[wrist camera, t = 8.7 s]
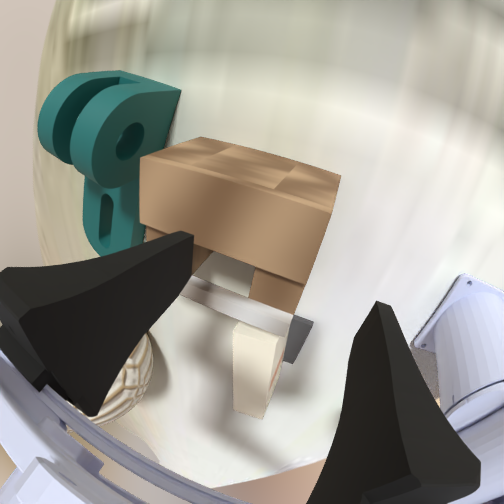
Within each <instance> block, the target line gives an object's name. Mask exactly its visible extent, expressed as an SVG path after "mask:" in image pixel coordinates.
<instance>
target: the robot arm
mask: <svg viewBox="0 0 504 504" xmlns="http://www.w3.org/2000/svg"><path fill="white" fill-rule="evenodd" d="M193 246H194V235H192V234H190V233H187V232H184V231H177V232H173V233H170V234H167V235H165V236H162V237H159V238H156V239H153V240H151V241H148V242H145V243H142V244H139V245H137V246H134V247H131V248H128V249H124V250H121V251H118V252H115V253H112V254H109V255H105V256H102V257H98V258H93V259H89V260H85V261H80V262H74V263H68V264H62V265H53V266H42V267H7V268H5V269H4V270H2V272H0V321H1V323H2V324H3V325H2V326H1V327H0V443H1V445H2V446H3V448H4V449H5V450H6V452H7V453H8V455H9V456H10V457H11V459H12V460H13V462H14V463H15V464H16V466H17V467H16V468H15V470H14V471H13V472H12V474H11V475H10V477H9V478H8V479H7V481H6V482H5V483H4V485H3V486H2V488H1V489H0V504H149V503H147V502H145V501H143V500H141V499H140V498H138V497H136V496H134V495H132V494H131V493H129V492H127V491H126V490H124V489H122V488H121V487H119V486H118V485H116V484H114V483H113V482H111V481H110V480H108V479H107V478H105V477H104V476H102V475H101V474H99V471H100V469H101V468H102V467H103V465H104V463H103V462H102V461H101V460H100V459H98V458H97V457H96V456H94V455H93V454H92V453H91V452H90V451H88V450H87V449H86V448H85V447H84V446H83V445H81V444H80V443H79V442H78V441H76V440H75V439H74V438H72V436H70V435H69V434H68V433H67V426H68V427H70V428H71V429H72V430H73V431H74V432H76V433H77V434H78V435H79V436H81V437H82V438H83V439H84V440H86V441H87V442H88V443H90V444H91V445H92V446H94V447H95V448H96V449H98V450H99V451H101V452H102V453H103V454H105V455H106V456H108V457H109V458H111V459H112V460H114V461H115V462H117V463H118V464H120V465H122V466H123V467H125V468H126V469H128V470H130V471H131V472H133V473H134V474H136V475H138V476H139V477H141V478H143V479H145V480H146V481H148V482H150V483H152V484H154V485H155V486H157V487H159V488H161V489H163V490H165V491H167V492H169V493H171V494H173V495H175V496H177V497H179V498H181V499H184V500H186V501H188V502H190V503H192V504H251V503H248V502H245V501H242V500H239V499H236V498H233V497H231V496H228V495H225V494H223V493H220V492H217V491H215V490H212V489H210V488H208V487H205V486H203V485H201V484H198V483H196V482H194V481H191V480H189V479H187V478H185V477H183V476H181V475H179V474H177V473H175V472H173V471H171V470H169V469H167V468H165V467H163V466H161V465H159V464H157V463H155V462H154V461H152V460H150V459H148V458H147V457H145V456H143V455H141V454H140V453H138V452H136V451H134V450H133V449H131V448H130V447H128V446H127V445H125V444H124V443H122V442H120V441H119V440H117V439H116V438H114V437H113V436H111V435H110V434H109V433H107V432H106V431H104V430H103V429H101V428H100V427H99V426H97V425H96V424H94V423H93V422H92V421H90V420H89V419H88V418H87V417H85V416H84V415H83V414H81V413H80V412H79V411H78V410H76V409H75V408H74V407H73V406H75V407H76V408H78V409H79V410H80V411H81V412H83V413H84V414H85V415H87V416H88V417H95V416H97V415H98V413H99V411H100V409H101V407H102V405H103V402H104V400H105V398H106V396H107V394H108V392H109V390H110V389H111V387H112V385H113V383H114V381H115V380H116V378H117V376H118V374H119V372H120V371H121V369H122V368H123V366H124V364H125V363H126V361H127V359H128V358H129V356H130V355H131V353H132V352H133V350H134V349H135V347H136V346H137V344H138V343H139V341H140V340H141V339H142V337H143V336H144V335H145V334H146V332H147V331H148V330H149V329H150V328H151V327H152V325H153V324H154V323H155V322H156V321H157V320H158V319H159V317H160V316H161V315H162V314H163V313H164V312H165V311H166V310H167V308H168V307H169V306H170V305H171V304H172V303H173V302H174V300H175V299H176V298H177V297H178V296H179V294H180V293H181V291H182V290H183V289H184V287H185V286H186V284H187V282H188V281H189V279H190V278H191V276H192V261H193ZM468 281H471V282H470V283H468V284H467V282H468ZM414 346H415V347H416V348H419V349H423V350H426V351H429V352H432V353H436V361H437V370H438V381H439V395H440V408H439V406H438V405H437V403H436V401H435V399H434V397H433V396H432V394H431V392H430V390H429V388H428V387H427V385H426V383H425V381H424V379H423V377H422V375H421V373H420V371H419V369H418V367H417V364H416V362H415V360H414V358H413V356H412V354H411V351H410V349H409V347H408V344H407V342H406V340H405V337H404V335H403V333H402V330H401V328H400V325H399V323H398V321H397V318H396V316H395V314H394V311H393V309H392V307H391V306H390V305H387V304H384V303H381V302H379V301H376V302H375V304H374V306H373V307H372V309H371V311H370V312H369V314H368V316H367V317H366V319H365V321H364V322H363V324H362V325H361V327H360V329H359V330H358V332H357V333H356V335H355V337H354V340H353V344H352V348H351V352H350V357H349V361H348V369H347V377H346V384H345V391H344V398H343V405H342V411H341V415H340V420H339V424H338V427H337V430H336V433H335V437H334V440H333V443H332V446H331V448H330V451H329V454H328V457H327V459H326V462H325V464H324V467H323V469H322V472H321V474H320V476H319V479H318V481H317V483H316V485H315V487H314V490H313V491H312V493H311V495H310V497H309V499H308V501H307V503H306V504H504V291H502V290H500V289H498V288H496V287H494V286H492V285H490V284H488V283H486V282H484V281H481V280H479V279H477V278H475V277H473V276H471V275H469V274H466V273H464V274H462V275H460V276H459V278H458V279H457V281H456V282H455V284H454V286H453V287H452V289H451V290H450V292H449V293H448V295H447V296H446V298H445V299H444V301H443V302H442V304H441V305H440V307H439V308H438V310H437V311H436V312H435V314H434V315H433V317H432V318H431V319H430V321H429V322H428V323H427V325H426V326H425V327H424V329H423V330H422V331H421V333H420V334H419V335H418V336H417V338H416V339H415V340H414ZM66 400H67V401H68V402H69V403H70V404H72V405H73V406H71V405H70V404H69V403H68V402H67V401H66ZM66 425H67V426H66Z"/></svg>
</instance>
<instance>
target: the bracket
mask: <svg viewBox="0 0 504 504" xmlns="http://www.w3.org/2000/svg"><path fill="white" fill-rule="evenodd" d="M180 93H181V90H180V89H177V88H175V87H172V86H169V85H166V84H163V83H160V82H157V81H154V80H151V79H147V78H144V77H141V76H138V75H134V74H131V73H127V72H124V71H120V70H118V71H101V72H89V73H80V74H75V75H72V76H70V77H68V78H66V79H64V80H63V81H62V82H60V83H59V84H58V85H57V86H56V87H55V88H54V89H53V90H52V91H51V92H50V94H49V95H48V97H47V98H46V100H45V102H44V104H43V106H42V108H41V111H40V114H39V119H38V137H39V140H40V143H41V145H42V146H43V148H44V149H45V150H46V151H48V152H49V153H51V154H52V155H54V156H55V157H57V158H58V159H60V160H61V161H63V162H64V163H67V164H71V165H74V167H75V168H76V169H77V170H78V171H79V172H80V173H81V174H83V175H85V181H84V197H83V226H84V230H85V233H86V236H87V238H88V240H89V242H90V244H91V246H92V247H93V249H94V250H95V251H96V252H97V253H98V254H99V255H100V256H101V257H102V256H105V255H109V254H112V253H115V252H118V251H121V250H124V249H128V248H131V247H134V246H137V245H139V244H142V243H143V238H144V233H145V227H146V225H145V224H142V223H140V196H139V192H140V157H143V156H146V155H148V154H151V153H154V152H157V151H159V150H162V149H164V145H165V142H166V138H167V135H168V131H169V128H170V125H171V121H172V118H173V115H174V112H175V108H176V105H177V102H178V99H179V96H180ZM78 116H79V117H78ZM77 118H78V119H77Z"/></svg>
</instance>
